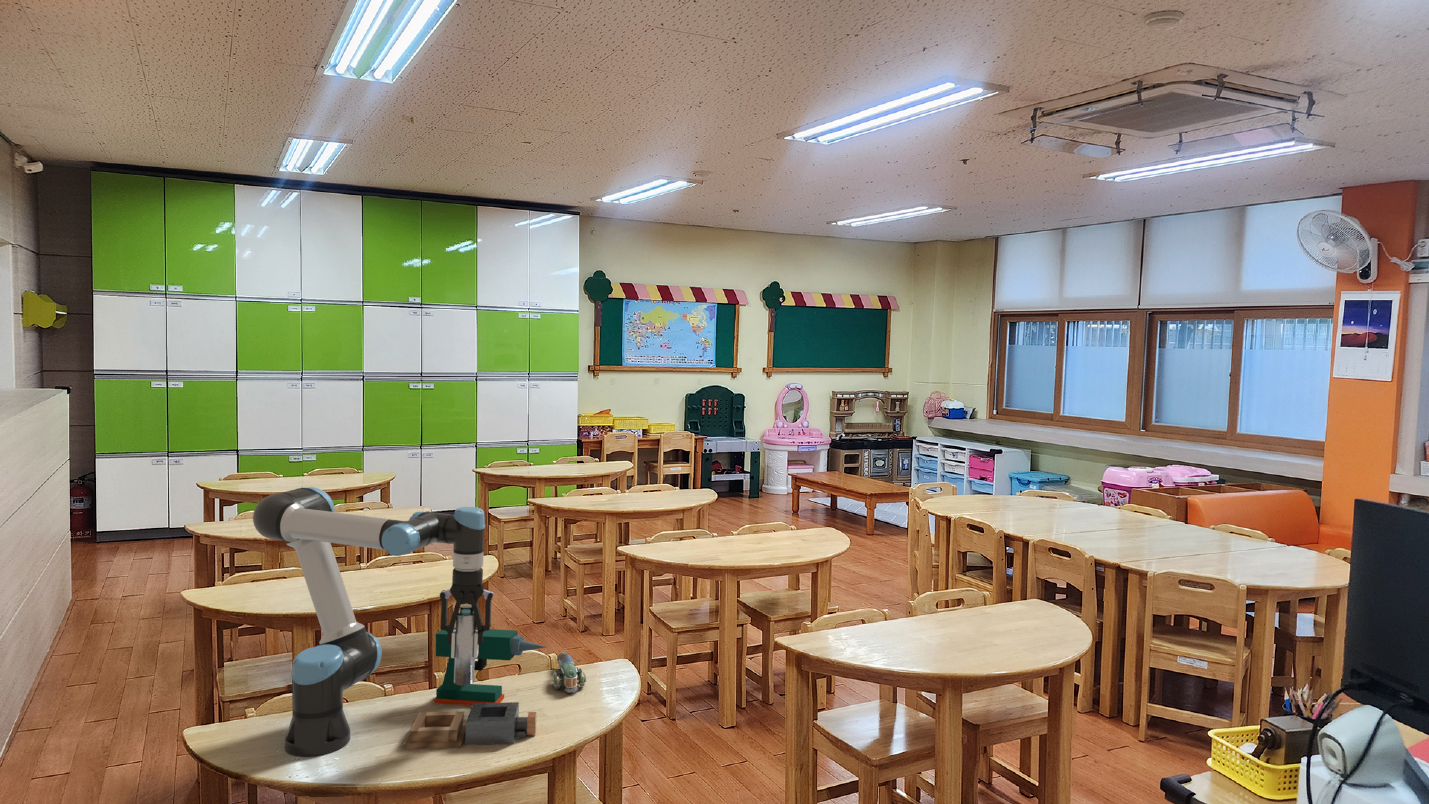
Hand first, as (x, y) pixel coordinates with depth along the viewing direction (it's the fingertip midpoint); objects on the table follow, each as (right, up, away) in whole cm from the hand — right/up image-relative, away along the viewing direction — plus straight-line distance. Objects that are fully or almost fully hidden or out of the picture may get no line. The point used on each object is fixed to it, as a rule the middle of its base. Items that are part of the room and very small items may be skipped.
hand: (464, 656), depth 226 cm
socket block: (+8, -21, +2) cm, 23 cm away
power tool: (+1, -20, +23) cm, 31 cm away
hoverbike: (+19, -20, +41) cm, 49 cm away
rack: (-7, -21, 0) cm, 22 cm away
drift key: (+14, -21, +2) cm, 25 cm away
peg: (0, -7, 0) cm, 7 cm away
